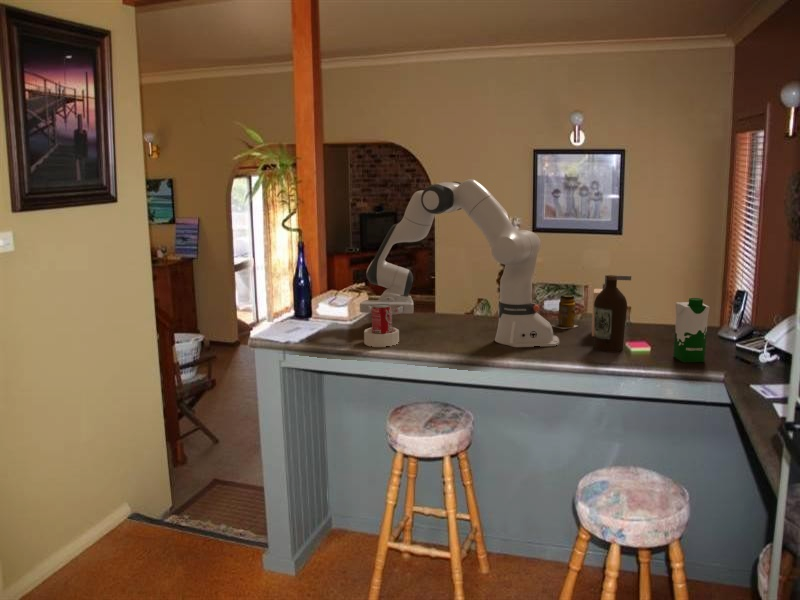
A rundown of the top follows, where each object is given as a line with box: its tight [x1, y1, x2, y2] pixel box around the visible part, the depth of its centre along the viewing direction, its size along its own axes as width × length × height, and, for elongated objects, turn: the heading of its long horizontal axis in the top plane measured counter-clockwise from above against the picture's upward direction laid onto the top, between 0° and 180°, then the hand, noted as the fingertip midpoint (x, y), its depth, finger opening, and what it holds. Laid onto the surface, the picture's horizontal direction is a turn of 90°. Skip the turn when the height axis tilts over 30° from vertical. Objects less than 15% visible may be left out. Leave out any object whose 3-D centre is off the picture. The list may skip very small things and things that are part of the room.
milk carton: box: [673, 297, 711, 363], centre depth 224 cm, size 9×9×20 cm
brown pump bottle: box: [593, 274, 628, 353], centre depth 238 cm, size 11×11×25 cm
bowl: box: [363, 326, 400, 348], centre depth 251 cm, size 12×12×4 cm
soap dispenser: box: [591, 274, 632, 337], centre depth 257 cm, size 13×9×22 cm
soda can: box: [371, 304, 393, 334], centre depth 249 cm, size 7×7×13 cm
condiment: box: [551, 294, 578, 330], centre depth 273 cm, size 7×8×12 cm
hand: (384, 311), depth 258 cm, fingers open, 8 cm apart
